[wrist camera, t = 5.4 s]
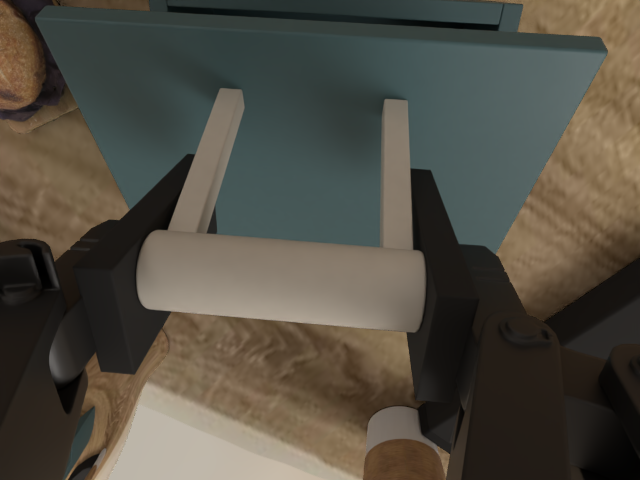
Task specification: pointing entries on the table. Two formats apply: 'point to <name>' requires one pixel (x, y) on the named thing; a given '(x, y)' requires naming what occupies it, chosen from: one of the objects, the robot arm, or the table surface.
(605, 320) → the external hard drive
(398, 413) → the coffee cup
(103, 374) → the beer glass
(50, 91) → the bread roll
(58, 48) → the bread box lid
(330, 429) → the table surface
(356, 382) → the table surface
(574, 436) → the robot arm
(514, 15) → the bread box
